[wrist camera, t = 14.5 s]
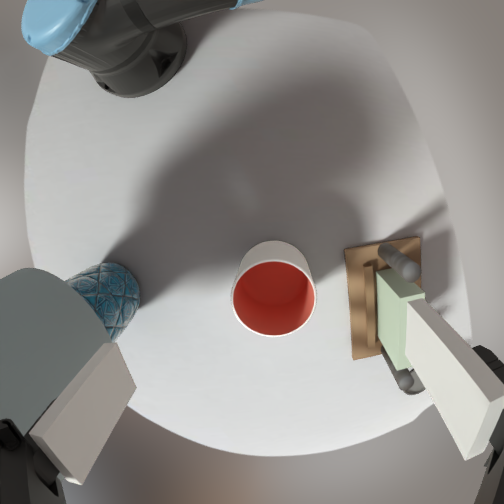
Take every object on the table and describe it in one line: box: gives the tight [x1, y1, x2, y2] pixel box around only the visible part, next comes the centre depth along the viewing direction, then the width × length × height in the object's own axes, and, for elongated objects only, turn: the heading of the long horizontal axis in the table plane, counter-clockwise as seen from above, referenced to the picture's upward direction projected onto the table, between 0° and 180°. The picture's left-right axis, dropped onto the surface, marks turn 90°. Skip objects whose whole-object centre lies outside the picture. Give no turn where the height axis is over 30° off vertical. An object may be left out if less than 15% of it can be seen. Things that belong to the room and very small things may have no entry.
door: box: [376, 268, 425, 371], centre depth 39 cm, size 11×4×10 cm, turn 11°
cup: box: [231, 241, 317, 337], centre depth 40 cm, size 10×10×10 cm
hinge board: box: [344, 236, 421, 390], centre depth 40 cm, size 19×12×11 cm, turn 11°
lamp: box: [0, 262, 140, 483], centre depth 29 cm, size 19×19×38 cm
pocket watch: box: [403, 370, 426, 395], centre depth 44 cm, size 8×8×10 cm
